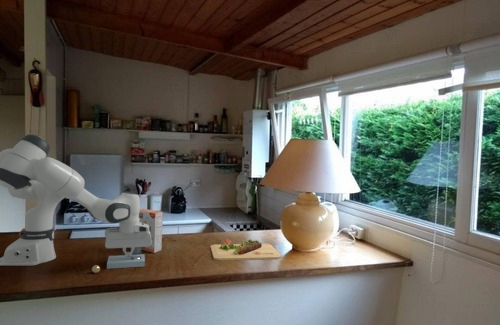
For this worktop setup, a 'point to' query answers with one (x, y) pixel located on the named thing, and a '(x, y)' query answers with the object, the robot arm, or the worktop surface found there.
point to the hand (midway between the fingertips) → (128, 256)
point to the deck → (125, 261)
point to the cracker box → (153, 228)
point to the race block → (136, 250)
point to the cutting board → (244, 251)
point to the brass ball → (95, 268)
